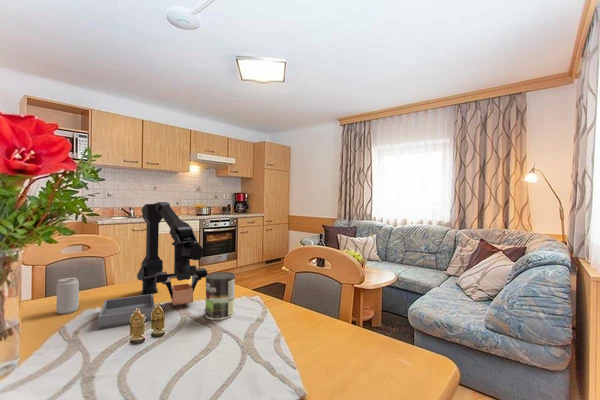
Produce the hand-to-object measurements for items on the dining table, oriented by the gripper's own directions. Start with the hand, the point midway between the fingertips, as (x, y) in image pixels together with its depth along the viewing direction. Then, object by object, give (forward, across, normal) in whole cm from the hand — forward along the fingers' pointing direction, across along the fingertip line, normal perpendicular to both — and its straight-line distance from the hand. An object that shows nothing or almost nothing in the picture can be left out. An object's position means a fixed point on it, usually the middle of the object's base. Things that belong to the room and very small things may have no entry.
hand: (181, 296), depth 114 cm
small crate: (+1, 0, 0) cm, 1 cm away
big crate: (+3, -18, -3) cm, 18 cm away
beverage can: (+3, -38, +12) cm, 40 cm away
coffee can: (+3, +11, -18) cm, 21 cm away
